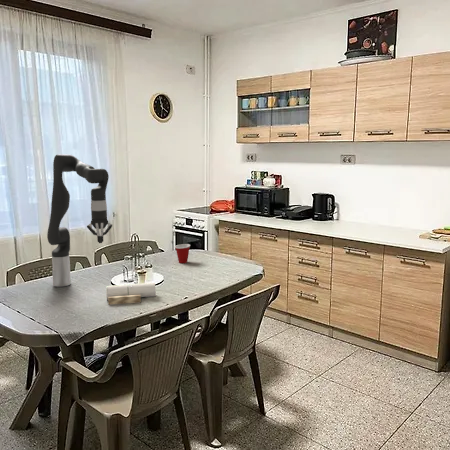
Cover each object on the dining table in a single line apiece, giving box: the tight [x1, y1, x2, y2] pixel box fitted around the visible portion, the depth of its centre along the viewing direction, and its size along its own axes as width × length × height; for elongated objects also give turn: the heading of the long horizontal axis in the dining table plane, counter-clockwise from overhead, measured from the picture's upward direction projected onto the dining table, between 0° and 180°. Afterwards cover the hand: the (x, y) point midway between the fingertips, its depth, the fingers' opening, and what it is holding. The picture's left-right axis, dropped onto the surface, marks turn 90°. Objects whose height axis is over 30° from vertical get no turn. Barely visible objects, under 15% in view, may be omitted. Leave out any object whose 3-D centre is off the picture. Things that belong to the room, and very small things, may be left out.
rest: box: [108, 295, 142, 305], centre depth 232 cm, size 16×14×4 cm
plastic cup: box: [174, 243, 191, 264], centre depth 303 cm, size 11×11×12 cm
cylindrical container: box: [105, 282, 157, 300], centre depth 233 cm, size 7×7×25 cm
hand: (100, 242), depth 224 cm, fingers closed
